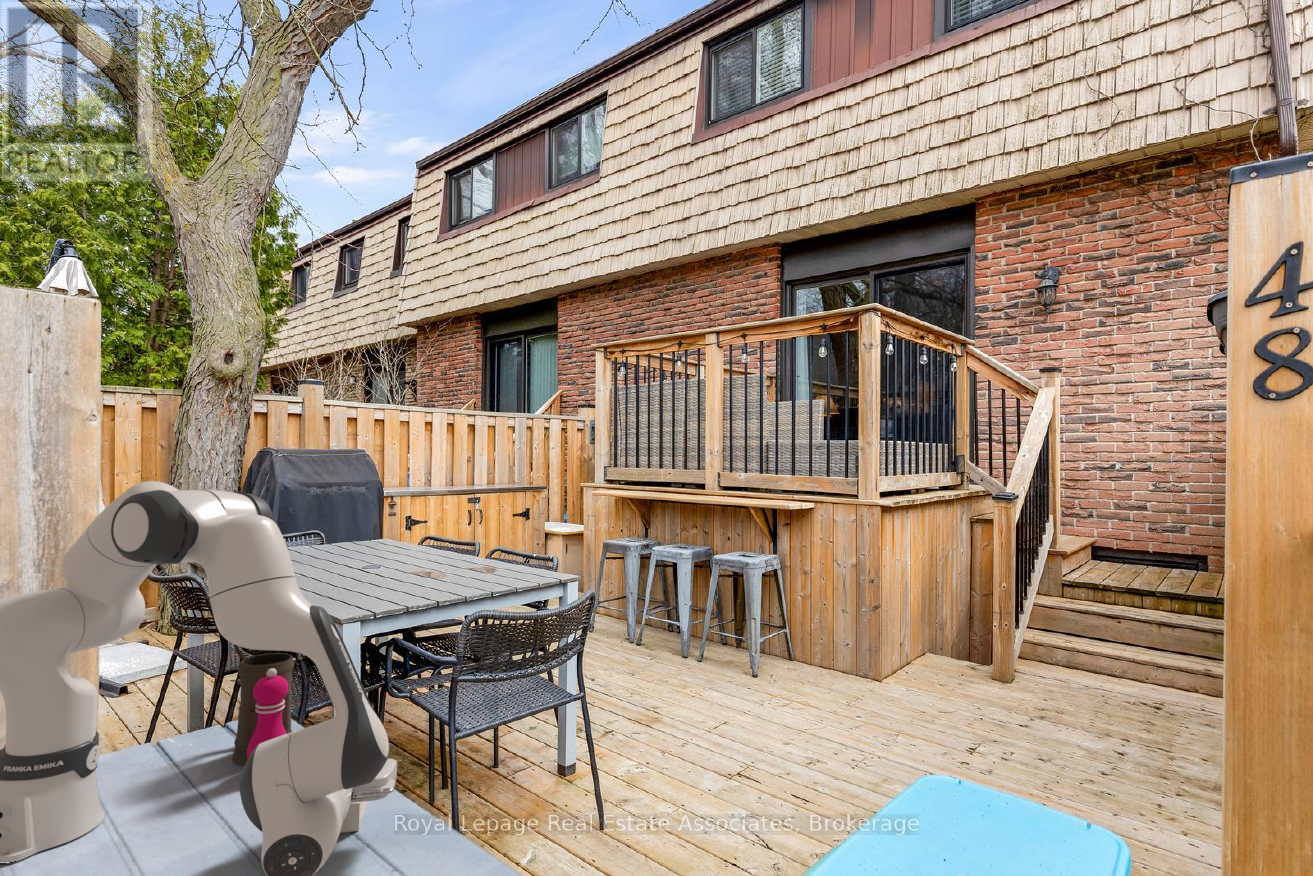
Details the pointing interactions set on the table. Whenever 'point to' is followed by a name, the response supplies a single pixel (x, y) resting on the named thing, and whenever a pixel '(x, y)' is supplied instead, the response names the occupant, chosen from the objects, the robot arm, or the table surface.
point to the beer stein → (247, 717)
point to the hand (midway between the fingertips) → (338, 761)
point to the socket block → (354, 817)
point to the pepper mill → (268, 708)
